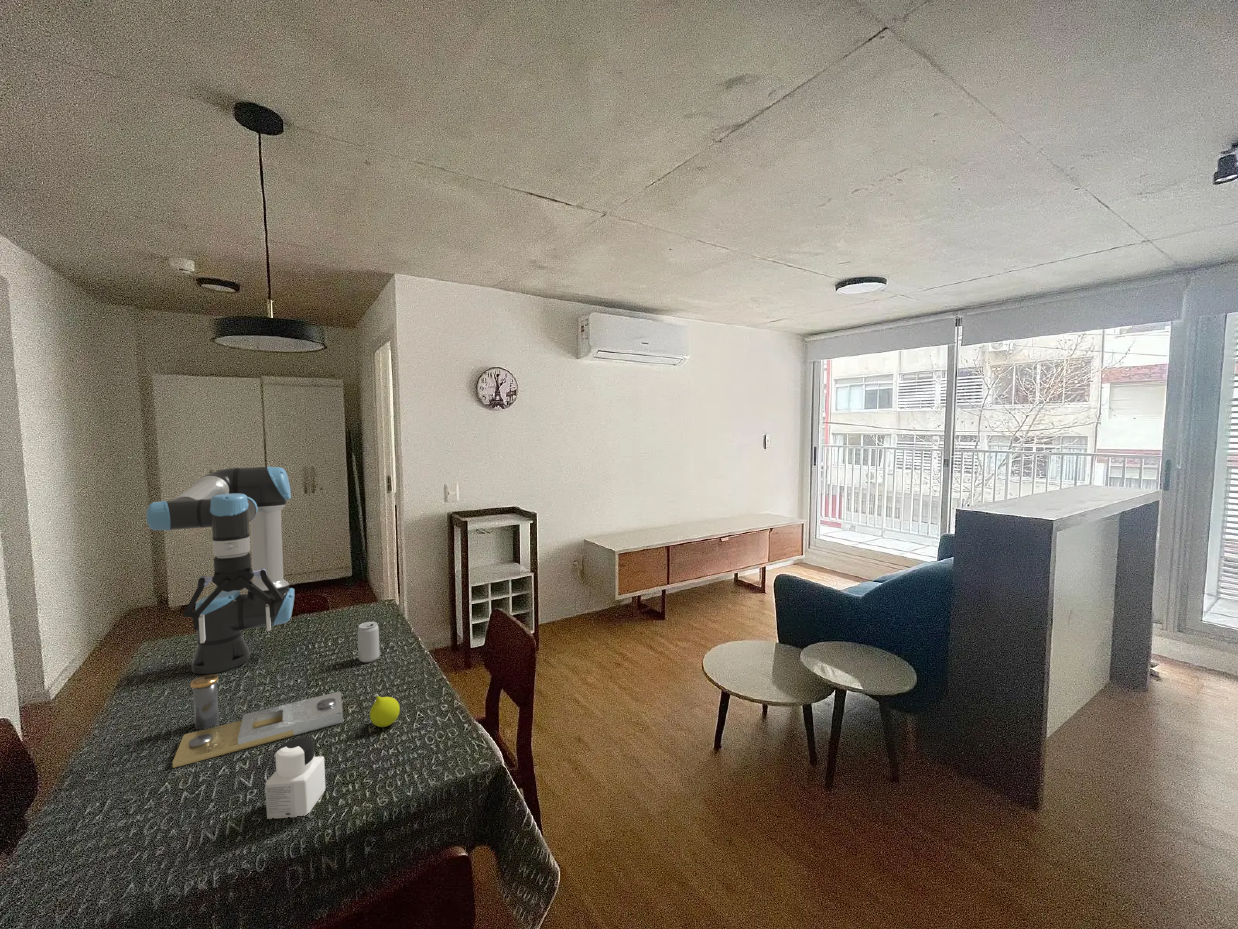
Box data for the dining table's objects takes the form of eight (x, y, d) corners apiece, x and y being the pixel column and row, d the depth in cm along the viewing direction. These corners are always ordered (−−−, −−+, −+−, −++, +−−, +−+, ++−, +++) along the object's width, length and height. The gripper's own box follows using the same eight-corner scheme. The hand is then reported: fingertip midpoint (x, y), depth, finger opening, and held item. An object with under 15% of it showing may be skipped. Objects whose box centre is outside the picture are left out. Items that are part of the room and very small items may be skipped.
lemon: (364, 729, 129) (362, 692, 128) (385, 714, 136) (384, 679, 135) (384, 735, 126) (383, 697, 126) (406, 720, 133) (405, 684, 132)
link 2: (244, 725, 131) (243, 712, 130) (341, 701, 142) (340, 689, 142) (238, 750, 120) (237, 736, 120) (343, 722, 132) (342, 709, 132)
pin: (195, 721, 132) (192, 678, 131) (222, 715, 135) (219, 672, 134) (191, 732, 128) (188, 687, 127) (219, 726, 130) (216, 681, 130)
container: (288, 791, 107) (285, 733, 106) (326, 789, 107) (323, 731, 107) (266, 820, 99) (262, 757, 98) (307, 817, 100) (304, 755, 99)
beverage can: (371, 664, 165) (369, 629, 164) (354, 662, 166) (352, 627, 165) (383, 655, 171) (382, 621, 170) (367, 654, 172) (366, 620, 171)
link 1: (184, 740, 124) (183, 732, 124) (295, 712, 137) (294, 705, 136) (172, 768, 114) (172, 759, 114) (293, 735, 126) (293, 727, 126)
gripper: (163, 565, 118) (169, 652, 119) (290, 551, 131) (294, 629, 133) (170, 558, 124) (176, 641, 125) (290, 545, 137) (294, 620, 139)
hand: (236, 635), depth 129 cm, fingers open, 13 cm apart
